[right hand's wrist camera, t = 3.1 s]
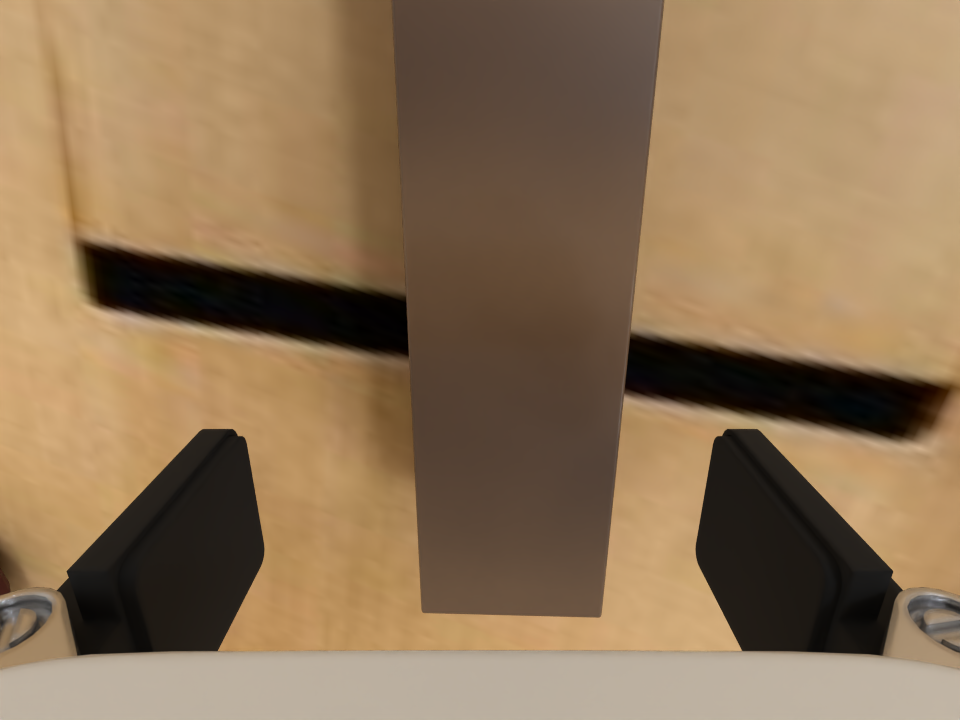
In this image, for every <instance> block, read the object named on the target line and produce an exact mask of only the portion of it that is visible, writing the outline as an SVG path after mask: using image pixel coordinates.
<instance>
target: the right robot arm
mask: <svg viewBox="0 0 960 720" xmlns="http://www.w3.org/2000/svg"><path fill="white" fill-rule="evenodd" d="M263 558H264V542H263V536H262V530H261V524H260V518H259V513H258V507H257V501H256V495H255V489H254V483H253V477H252V472H251V466H250V460H249V454H248V448H247V443H246V440H245V438H244V437H243V436H238V435H237V433H236V432H235V431H234V430H233V429H202V430H201V431H200V432H199V433H198V434H197V435H196V436H195V437H194V438H193V439H192V440H191V441H190V442H189V443H188V444H187V445H186V446H185V447H184V448H183V449H182V451H181V452H180V453H179V454H178V455H177V456H176V457H175V458H174V459H173V460H172V461H171V462H170V463H169V464H168V465H167V466H166V467H165V468H164V469H163V471H162V472H161V473H160V474H159V475H158V476H157V477H156V478H155V479H154V480H153V481H152V482H151V483H150V484H149V485H148V486H147V487H146V488H145V489H144V491H143V492H142V493H141V494H140V495H139V496H138V497H137V498H136V499H135V500H134V501H133V502H132V503H131V504H130V505H129V506H128V507H127V508H126V509H125V511H124V512H123V513H122V514H121V515H120V516H119V517H118V518H117V519H116V520H115V521H114V522H113V523H112V524H111V525H110V526H109V527H108V528H107V529H106V530H105V532H104V533H103V534H102V535H101V536H100V537H99V538H98V539H97V540H96V541H95V542H94V543H93V544H92V545H91V546H90V547H89V548H88V549H87V550H86V552H85V553H84V554H83V555H82V556H81V557H80V558H79V559H78V560H77V561H76V562H75V563H74V564H73V565H72V566H71V567H70V568H69V569H68V570H67V574H68V577H69V578H68V579H67V580H66V581H65V582H64V583H63V585H62V586H61V587H60V588H59V589H58V590H57V591H56V590H54V589H51V588H41V587H35V588H28V589H21V590H17V591H14V592H11V593H7V594H4V595H1V596H0V720H960V596H959V595H956V594H953V593H949V592H946V591H943V590H939V589H932V588H925V587H919V588H909V589H906V590H904V591H903V590H902V589H901V588H900V587H899V586H898V585H897V583H896V582H895V581H894V580H893V579H892V578H891V577H892V574H893V570H892V569H891V568H890V567H889V566H888V565H887V564H886V563H885V562H884V561H883V560H882V559H881V558H880V557H879V556H878V555H877V554H876V553H875V552H874V550H873V549H872V548H871V547H870V546H869V545H868V544H867V543H866V542H865V541H864V540H863V539H862V538H861V537H860V536H859V535H858V534H857V533H856V532H855V531H854V529H853V528H852V527H851V526H850V525H849V524H848V523H847V522H846V521H845V520H844V519H843V518H842V517H841V516H840V515H839V514H838V513H837V512H836V511H835V509H834V508H833V507H832V506H831V505H830V504H829V503H828V502H827V501H826V500H825V499H824V498H823V497H822V496H821V495H820V494H819V493H818V492H817V491H816V489H815V488H814V487H813V486H812V485H811V484H810V483H809V482H808V481H807V480H806V479H805V478H804V477H803V476H802V475H801V474H800V473H799V472H798V471H797V469H796V468H795V467H794V466H793V465H792V464H791V463H790V462H789V461H788V460H787V459H786V458H785V457H784V456H783V455H782V454H781V453H780V452H779V451H778V449H777V448H776V447H775V446H774V445H773V444H772V443H771V442H770V441H769V440H768V439H767V438H766V437H765V436H764V435H763V434H762V433H761V432H760V431H759V430H758V429H727V430H726V431H725V432H724V433H723V435H722V436H717V437H716V438H715V440H714V443H713V448H712V454H711V460H710V466H709V472H708V477H707V483H706V489H705V495H704V501H703V507H702V512H701V518H700V524H699V530H698V536H697V542H696V558H697V562H698V565H699V567H700V569H701V571H702V573H703V575H704V577H705V579H706V581H707V583H708V585H709V586H710V588H711V590H712V592H713V594H714V596H715V598H716V600H717V602H718V604H719V606H720V608H721V610H722V612H723V614H724V616H725V618H726V620H727V622H728V624H729V626H730V628H731V630H732V632H733V634H734V636H735V637H736V639H737V641H738V643H739V645H740V647H741V649H742V651H595V650H415V651H218V649H219V647H220V645H221V643H222V641H223V639H224V637H225V636H226V634H227V632H228V630H229V628H230V626H231V624H232V622H233V620H234V618H235V616H236V614H237V612H238V610H239V608H240V606H241V604H242V602H243V600H244V598H245V596H246V594H247V592H248V590H249V588H250V586H251V585H252V583H253V581H254V579H255V577H256V575H257V573H258V571H259V569H260V567H261V565H262V562H263Z"/></svg>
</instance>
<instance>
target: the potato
mask: <svg viewBox="0 0 960 720" xmlns="http://www.w3.org/2000/svg"><path fill="white" fill-rule="evenodd" d="M7 593H11V592H10V586H9V582H8V580H7V578H6V577H5V575H4V574H3V572H2V570H1V569H0V596H1V595H4V594H7Z"/></svg>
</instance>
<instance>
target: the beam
mask: <svg viewBox="0 0 960 720" xmlns="http://www.w3.org/2000/svg"><path fill="white" fill-rule="evenodd" d="M663 8H664V0H392V18H393V39H394V59H395V80H396V100H397V120H398V141H399V161H400V181H401V202H402V222H403V242H404V263H405V283H406V303H407V324H408V344H409V365H410V385H411V405H412V426H413V446H414V466H415V487H416V507H417V527H418V548H419V568H420V589H421V609H422V612H423V613H445V614H484V615H522V616H561V617H601V614H602V604H603V594H604V585H605V575H606V565H607V555H608V545H609V536H610V526H611V516H612V506H613V497H614V487H615V477H616V467H617V458H618V448H619V438H620V428H621V419H622V409H623V399H624V389H625V379H626V370H627V360H628V350H629V340H630V331H631V321H632V311H633V301H634V292H635V282H636V272H637V262H638V252H639V243H640V233H641V223H642V213H643V204H644V194H645V184H646V174H647V165H648V155H649V145H650V135H651V126H652V116H653V106H654V96H655V86H656V77H657V67H658V57H659V47H660V38H661V28H662V18H663Z"/></svg>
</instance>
